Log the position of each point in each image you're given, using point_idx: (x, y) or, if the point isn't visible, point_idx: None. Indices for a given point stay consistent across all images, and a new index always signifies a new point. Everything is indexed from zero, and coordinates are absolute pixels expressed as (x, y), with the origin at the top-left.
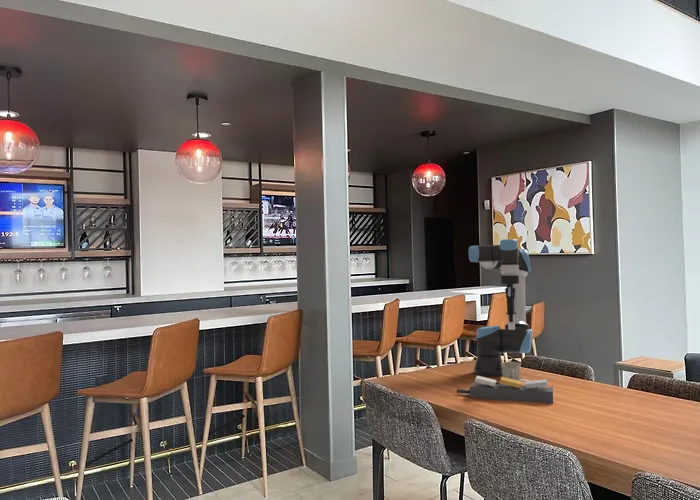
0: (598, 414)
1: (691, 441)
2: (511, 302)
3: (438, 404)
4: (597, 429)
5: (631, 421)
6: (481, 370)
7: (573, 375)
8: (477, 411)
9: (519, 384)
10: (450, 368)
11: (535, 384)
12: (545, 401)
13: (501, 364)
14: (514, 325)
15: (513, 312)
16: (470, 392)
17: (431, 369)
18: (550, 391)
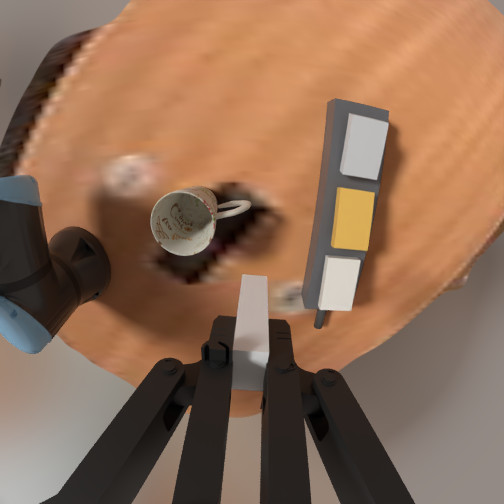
0: (433, 51)
1: (497, 11)
2: (385, 469)
3: (388, 337)
4: (498, 95)
5: (453, 22)
6: (103, 285)
7: (56, 67)
8: (434, 273)
9: (373, 196)
10: (77, 335)
11: (381, 152)
12: None
13: (194, 253)
14: (266, 292)
15: (335, 374)
16: None
17: (102, 364)
18: (385, 115)
